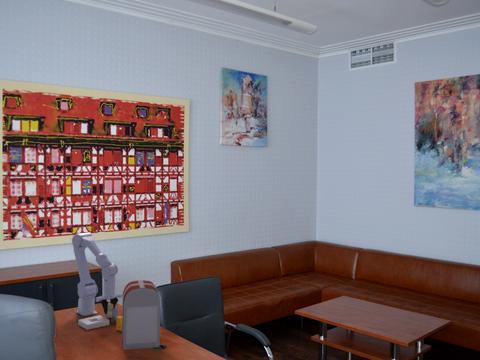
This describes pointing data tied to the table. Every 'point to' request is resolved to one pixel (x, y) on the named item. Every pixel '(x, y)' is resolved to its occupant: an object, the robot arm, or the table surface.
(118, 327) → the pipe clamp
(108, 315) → the square peg
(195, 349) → the table surface
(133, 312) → the grey arched box
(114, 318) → the round peg
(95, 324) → the socket block
